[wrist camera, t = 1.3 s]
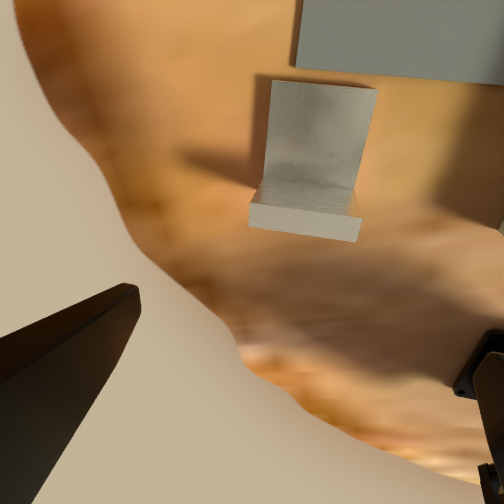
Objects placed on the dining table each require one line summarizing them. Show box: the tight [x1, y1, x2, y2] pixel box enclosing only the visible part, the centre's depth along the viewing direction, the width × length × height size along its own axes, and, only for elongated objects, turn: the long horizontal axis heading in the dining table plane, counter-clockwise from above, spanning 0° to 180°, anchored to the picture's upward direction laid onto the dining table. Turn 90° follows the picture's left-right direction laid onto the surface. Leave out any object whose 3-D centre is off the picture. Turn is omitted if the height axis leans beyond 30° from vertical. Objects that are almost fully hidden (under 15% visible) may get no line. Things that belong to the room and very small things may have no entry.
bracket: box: [248, 80, 378, 242], centre depth 15 cm, size 6×5×5 cm
